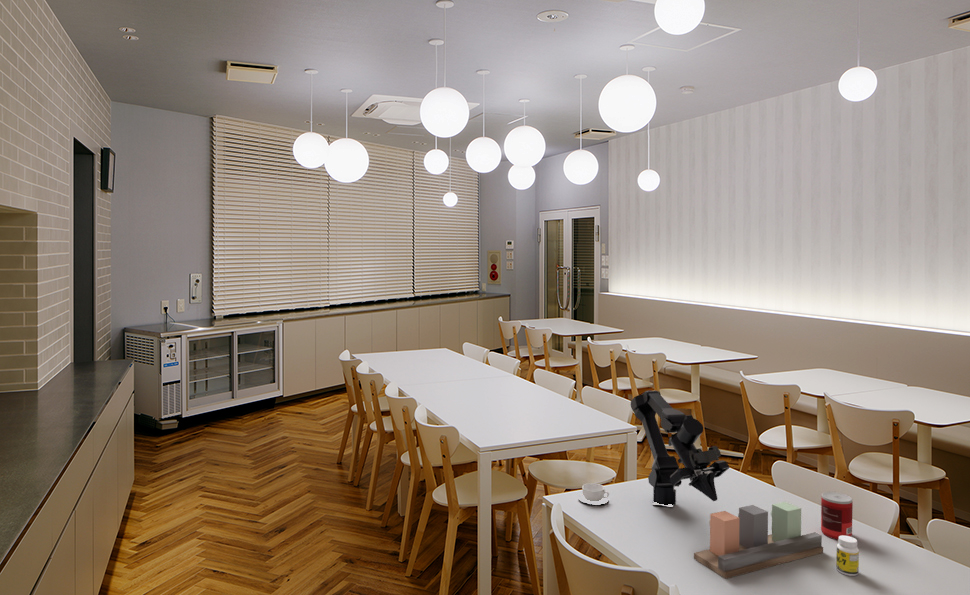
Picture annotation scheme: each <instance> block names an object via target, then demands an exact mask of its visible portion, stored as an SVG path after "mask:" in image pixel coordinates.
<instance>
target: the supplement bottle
mask: <svg viewBox="0 0 970 595" xmlns="http://www.w3.org/2000/svg"><path fill="white" fill-rule="evenodd" d="M837 541H838V543H837V545H836V556H835V558H836V564H835V566H836V570H837V571H838V573H840V574H843V575H845V576H848V577H854V576H855V577H856V576H858V575H859V572H860V571H859V564H860V562H859V560H860V559H859V558H860V550H859V548H858V540H857V539H856V538H854V537H853V536H851V537H850V536H845V535H842V536H839V539H837Z"/></svg>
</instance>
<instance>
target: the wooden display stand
mask: <svg viewBox="0 0 970 595" xmlns="http://www.w3.org/2000/svg"><path fill="white" fill-rule="evenodd" d="M822 537H823V536H822V534H820V533H818V532H809V533H805V534H801V536H798V537H794V538H789V539H785V540H781V541H777V542H774V541H772V533H771V534H768V544H765V545H761V546H757V547H753V548H749V549H747V548H745V547H743V546H741V545H739V551H737V552H733V553H729V554H725V555H721V556H718V555H716V554H714V553H712V552H711V551H710V548H709V549H705V550H699V551H696V552H693V559H694V560H695V559H696V560H695V561H697V562H698V563H700V564H702V565H703V566H704V567H706V568H708V569H710V570H711V571H713V572H714V573H716V574H718V575H719V576H721V577H722V578H724V579H725V580H726V579H729V578H733V577H737V576H741V575H744V574H748V573H752V572H755V571H759V570H763V569H767V568H772V567H774V566H778V565H781V564H784V563H785V564H786V563H789V562H794V561H796V560H800V559H803V558H808V557H811V556H816V555H819V554H822V553H824V547H823V545H822V542H823V541H822Z"/></svg>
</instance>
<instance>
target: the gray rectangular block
mask: <svg viewBox="0 0 970 595" xmlns="http://www.w3.org/2000/svg"><path fill="white" fill-rule="evenodd" d="M737 517H739V545H741V546H743V547H745V548H747V549H749V548H753V547H757V546H761V545H765V544H768V535H769V511H767V510H765V509H762V508H760V507H759V506H756V505H755V504H749V505H746V506H742V507H739V508H738V514H737Z"/></svg>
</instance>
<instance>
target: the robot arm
mask: <svg viewBox="0 0 970 595" xmlns="http://www.w3.org/2000/svg"><path fill="white" fill-rule="evenodd" d="M630 408H631V410H632V411H633V414H634V416H635V418H637V419H638V420H639V421H640V422H641V423H642V426H643V430H644V433H645V436H646V439H647V442H648V444H649V448H650V451H651V454H652V455H651V456H652V457H653V461H652V465H651V471H650V473H649V475H647V476H648V477H647V478H648V484H649V485H650V486H652V487H653V488H652V489H653V493H652V494H653V497H652V498H653V501H654V502H657V503H659V504H664V505H668V504H672V505H673V504H675V505H676V503H677V489H675V487H680V486H681V485H682V482H683V481H682V480H688V479H689V481H690V482H689V483H688V486H690V487H693V488H694V489H696V490H697V491H699V492H700V493H702V494H703V495H704V496H706V497H707V498H709V499H710V500H711V501H712V502H716V501H718V494H717V490H716V486H715V479H716V478H718V477H720V476H721V477H722V475H723V474H725V473H726V471H728V470H729V469H730V468H731V467H730V466H729V464H728V462H727V461H725V460H723V459H722V460H720V457H721V456H722V453H721V449H719V447H718V446H717V445H715V446H714V445H713V446H709V447H708V449H707V450H703V449H701V448H697V447H696V445H695V443H696V442H697V440H698V439H699V438H700V436H701V435H702V434H703V433H704V425H703V424H702V422H700V421H699V420H698V419H697V418H694V415H693V414H687V415H686V414H685V412H682V411H680V410H678V409H675V408H673V407H672V406H671V405H670V404H669V403H668V401H667V400H666V399H664V397H663V396H662V395H661V392H660V391H659V390H645V391H644V392H642V393H640V394H638V395H636V396H634V397H633V398H632V399H631V401H630ZM656 415H657V416H658V417H659V418H660V426H661V428H662V429H663V431H664V432H665V433H667V434H672V436H668V437H669V439H668V442H667V443H668V446H669V447H673V449H674V451H675V453H676V454H677V456H678V460H677V458H676V457H675V456H674V455H670V454H669V453H668V450H667V447H666V444H665V442H664V439H663V435H662V433H661V429H660V426H659V424H658V421H657V419H656ZM673 433H674V434H673ZM713 461H714V462H713ZM711 462H712V463H711ZM678 463H679V464H682V465H683V466H684V467H681V468H680V465H679V464H678ZM653 501H652V502H653Z"/></svg>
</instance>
